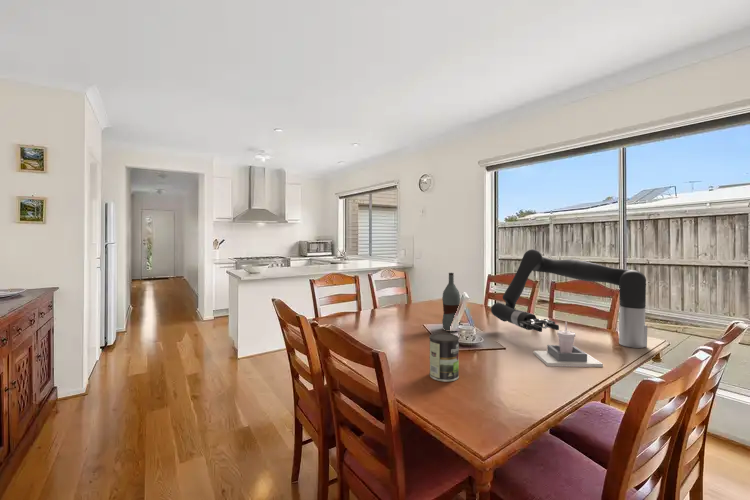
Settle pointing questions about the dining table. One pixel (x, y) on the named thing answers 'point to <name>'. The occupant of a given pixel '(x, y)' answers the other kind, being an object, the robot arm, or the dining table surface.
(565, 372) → the dining table surface
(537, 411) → the dining table surface
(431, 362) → the coffee can
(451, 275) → the dark grey tall bottle
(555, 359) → the socket stand
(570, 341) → the smoothie
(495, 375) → the dining table surface
